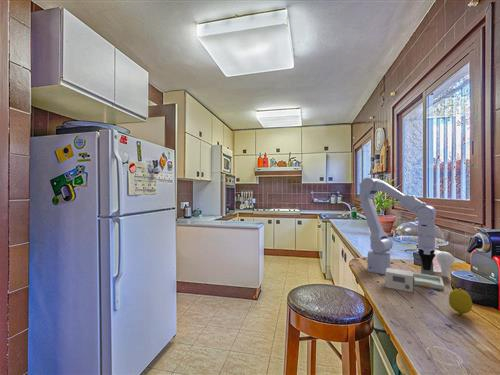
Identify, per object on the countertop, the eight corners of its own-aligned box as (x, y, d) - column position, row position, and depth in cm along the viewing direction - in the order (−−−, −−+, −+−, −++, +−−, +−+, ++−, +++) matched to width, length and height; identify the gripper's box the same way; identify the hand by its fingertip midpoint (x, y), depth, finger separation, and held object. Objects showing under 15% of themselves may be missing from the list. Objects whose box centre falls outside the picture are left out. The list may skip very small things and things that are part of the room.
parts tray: (410, 284, 101) (410, 280, 101) (411, 276, 110) (411, 272, 110) (443, 290, 95) (443, 285, 95) (441, 281, 104) (441, 277, 104)
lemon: (466, 311, 79) (466, 286, 79) (476, 320, 74) (476, 293, 74) (445, 308, 81) (445, 284, 81) (453, 317, 76) (453, 290, 76)
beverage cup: (428, 267, 122) (428, 238, 122) (444, 270, 118) (444, 240, 118) (426, 270, 117) (426, 241, 117) (443, 273, 113) (443, 242, 113)
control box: (385, 287, 98) (385, 272, 98) (387, 282, 103) (387, 267, 103) (414, 293, 93) (414, 277, 93) (414, 287, 98) (414, 272, 98)
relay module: (421, 273, 102) (421, 261, 102) (421, 271, 105) (421, 258, 105) (433, 275, 99) (433, 262, 100) (432, 273, 103) (432, 260, 103)
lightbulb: (457, 279, 106) (457, 254, 106) (441, 278, 107) (441, 253, 107) (449, 274, 112) (449, 250, 112) (433, 274, 113) (433, 249, 113)
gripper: (439, 239, 94) (440, 275, 94) (437, 233, 106) (437, 265, 106) (417, 237, 98) (417, 271, 98) (417, 231, 110) (417, 262, 110)
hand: (426, 268), depth 102 cm, fingers closed on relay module, 4 cm apart
